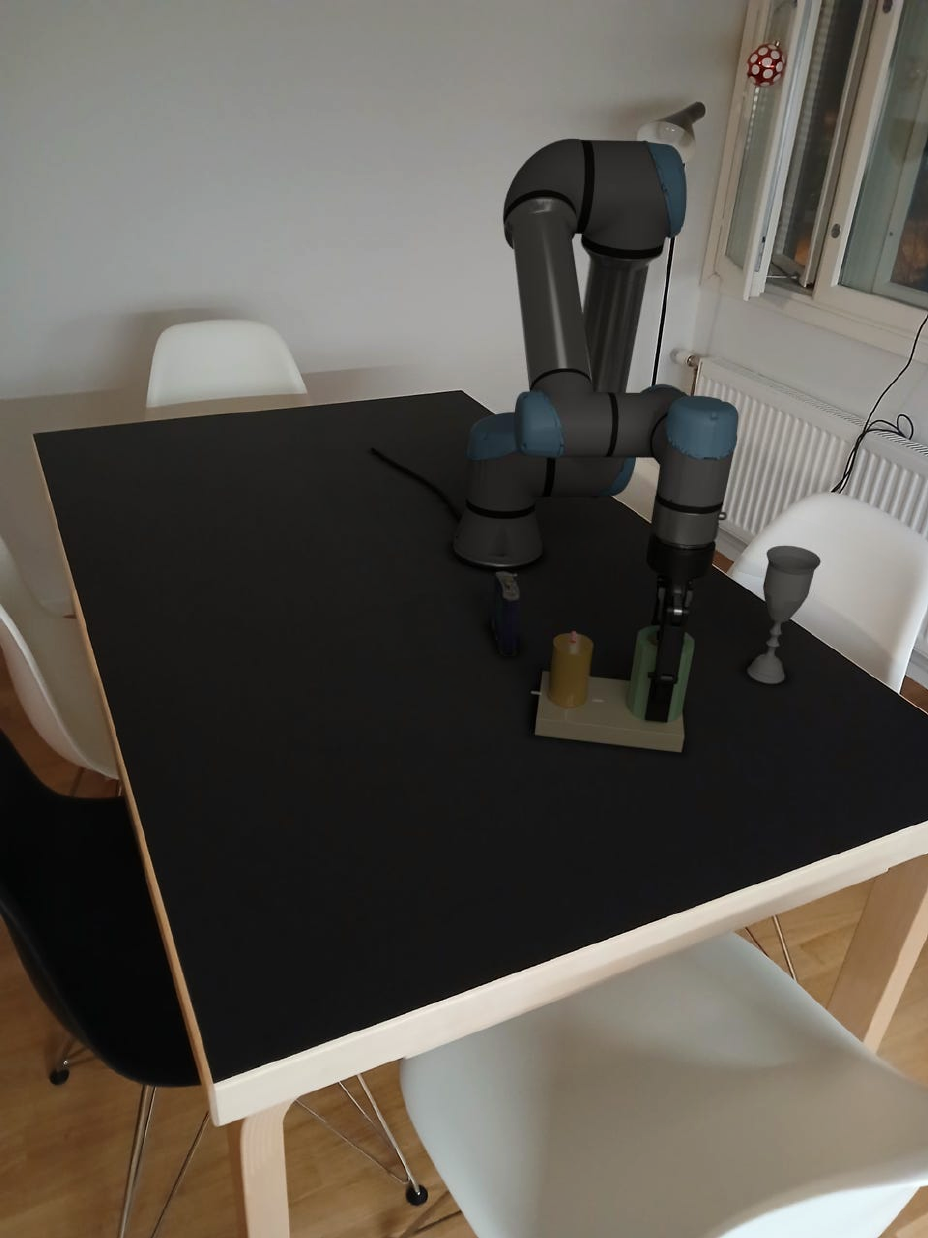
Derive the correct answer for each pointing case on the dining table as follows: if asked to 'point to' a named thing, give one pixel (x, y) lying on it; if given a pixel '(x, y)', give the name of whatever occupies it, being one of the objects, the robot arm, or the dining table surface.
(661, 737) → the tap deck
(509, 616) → the flask
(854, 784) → the dining table surface
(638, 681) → the sleeve
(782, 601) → the chalice
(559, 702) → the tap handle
